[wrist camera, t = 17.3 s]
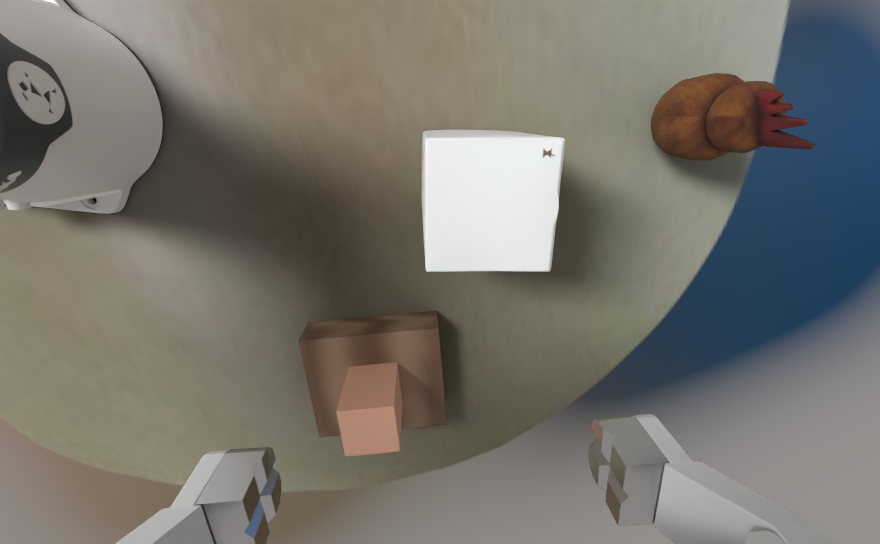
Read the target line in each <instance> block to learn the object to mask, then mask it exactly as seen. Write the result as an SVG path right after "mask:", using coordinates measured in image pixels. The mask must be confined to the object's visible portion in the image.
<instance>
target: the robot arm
mask: <svg viewBox="0 0 880 544" xmlns="http://www.w3.org/2000/svg"><path fill="white" fill-rule="evenodd" d="M162 129H163V123H162V113H161V107H160V103H159V99H158V96H157V93H156V91H155V88H154V86H153V84H152V82H151V80H150V78H149V76H148V74H147V73H146V71H145V69H144V68H143V66H142V65H141V64H140V62H139V61H138V60H137V58H136V57H135V56H134V55H133V54H132V53H131V51H130V50H129V49H128V48H127V47H126V46H125V45H124V44H122V43H121V42H120V41H119V40H118V39H117V38H115V37H114V36H113V35H112V34H110V33H109V32H107V31H106V30H104V29H103V28H101V27H99V26H98V25H96V24H94V23H92V22H90V21H88V20H86V19H85V18H83V17H81V16H80V15H78V14H77V13H75V12H74V11H72V9H71V8H70V7H69V6H68V5H67V4H66V3H65V2H64V1H63V0H0V210H1V209H4V206H5V205H4V204H6V206H7V208H8V209H9V210H25V209H30V208H31V206H33V207H43V208H53V209H63V210H73V211H83V212H93V213H103V214H110V213H116V212H119V211H121V210H122V209H123V208H124V206H125V204H126V202H127V199H128V196H129V193H130V189H131V186H132V185H133V184H134V182H135V181H136V180H137V179H138V178H139V177H140V176H141V175H143V174H144V173H145V172H146V171H147V169H148V168H149V167H150V166H151V164H152V163H153V161H154V159H155V157H156V155H157V153H158V150H159V148H160V144H161V139H162ZM94 197H95V198H96V200H97V202H94V200H93V198H94ZM591 434H592V436H593V438H594V441H593V442H592V444H591V445H590V446H589V463H590V468H591V471H592V474H593V477H594V479H595V481H596V483H597V485H598V486H599V487H600V488H602V489H603V490H604V491H606V503H607V505H608V507H609V509H610V511H611V513H612V515H613V517H614V519H615V521H616V523H617V525H618V526H626V525H642V524H654V526H655V527H656V528H657V529H659V530H660V531H661V532H662V533H663V534H664V535H666V536H667V537H668V538H669V539H670V540H672V541H673V542H674V543H675V544H837V543H836V542H835V541H834V540H833V539H832V538H831V537H830V536H829V535H828V534H827V533H826V532H825V531H824V530H823V529H822V528H821V527H820V526H819V525H818V524H817V523H815V522H813V521H811V520H809V519H807V518H805V517H804V516H802V515H800V514H798V513H796V512H794V511H792V510H790V509H788V508H786V507H785V506H783V505H781V504H779V503H777V502H775V501H774V500H772V499H770V498H768V497H766V496H764V495H762V494H760V493H758V492H757V491H755V490H753V489H751V488H749V487H747V486H746V485H744V484H742V483H740V482H738V481H736V480H734V479H732V478H730V477H728V476H727V475H725V474H723V473H721V472H719V471H717V470H716V469H714V468H712V467H710V466H708V465H706V464H704V463H702V462H701V461H693V460H692V459H691V458H690V457H689V456H688V454H687V453H686V452H685V451H684V450H683V448H682V447H681V446H680V445H679V444H678V442H677V441H676V440H675V439H674V438H673V436H672V435H671V434H670V433H669V432H668V430H667V429H666V428H665V427H664V426H663V424H662V423H661V422H660V421H659V420H658V419H657V417H656V416H654V415H653V414H644V415H634V416H627V417H616V418H606V419H595V420H593V422H592V424H591ZM275 460H276V458H275V455H274V452H273V449H272V448H270V447H263V448H246V449H230V450H220V451H209V452H207V453H206V454H204V455H203V457H202V458H201V460H200V461H199V463H198V465H197V466H196V468H195V469H194V471H193V472H192V474H191V475H190V477H189V479H188V480H187V482H186V483H185V485H184V486H183V488H182V490H181V491H180V493H179V495H178V496H177V497H176V499H175V501H174V502H173V504H172V505H171V507H170V508H165V509H162V510H161V511H160V512H158V513H157V514H155V515H154V516H152V517H151V518H150V519H148V520H147V521H146V522H144V523H143V524H142V525H140V526H139V527H138V528H136V529H135V530H133V531H132V532H131V533H129V534H128V535H126V536H125V537H124V538H122V539H121V540H120V541H118V542H117V543H116V544H266V542H267V539H268V536H269V533H270V531H269V527H268V522H269V521H270V520H271V519H272V518H273V517H274V516H275V515H276V513H277V510H278V507H279V504H280V497H281V479H280V475H279V473H278V472H277V471H276V470H275V469H273V468H272V467H273V465H274V462H275Z"/></svg>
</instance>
